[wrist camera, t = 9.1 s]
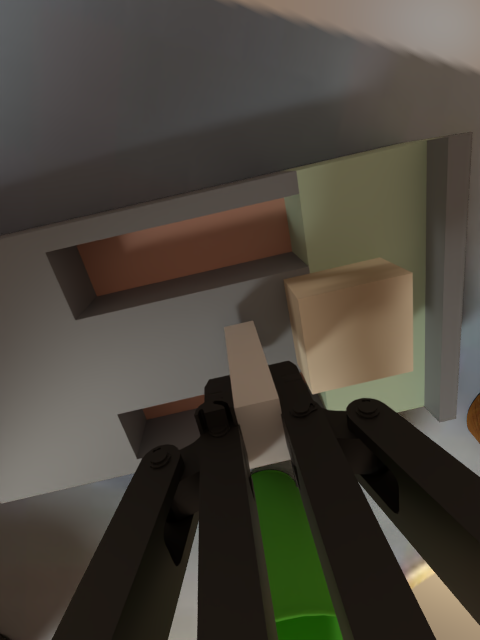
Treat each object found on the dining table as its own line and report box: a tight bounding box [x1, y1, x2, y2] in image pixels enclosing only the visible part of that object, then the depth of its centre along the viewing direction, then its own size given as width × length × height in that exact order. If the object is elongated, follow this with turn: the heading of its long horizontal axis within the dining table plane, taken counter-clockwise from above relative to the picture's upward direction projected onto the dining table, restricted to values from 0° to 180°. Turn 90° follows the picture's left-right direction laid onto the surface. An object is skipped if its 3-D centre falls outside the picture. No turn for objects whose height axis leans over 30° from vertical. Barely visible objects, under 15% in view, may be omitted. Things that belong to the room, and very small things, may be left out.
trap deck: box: [0, 132, 472, 504], centre depth 20 cm, size 28×15×6 cm, turn 102°
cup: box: [251, 470, 343, 640], centre depth 24 cm, size 9×9×11 cm
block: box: [283, 257, 413, 394], centre depth 17 cm, size 5×5×3 cm
